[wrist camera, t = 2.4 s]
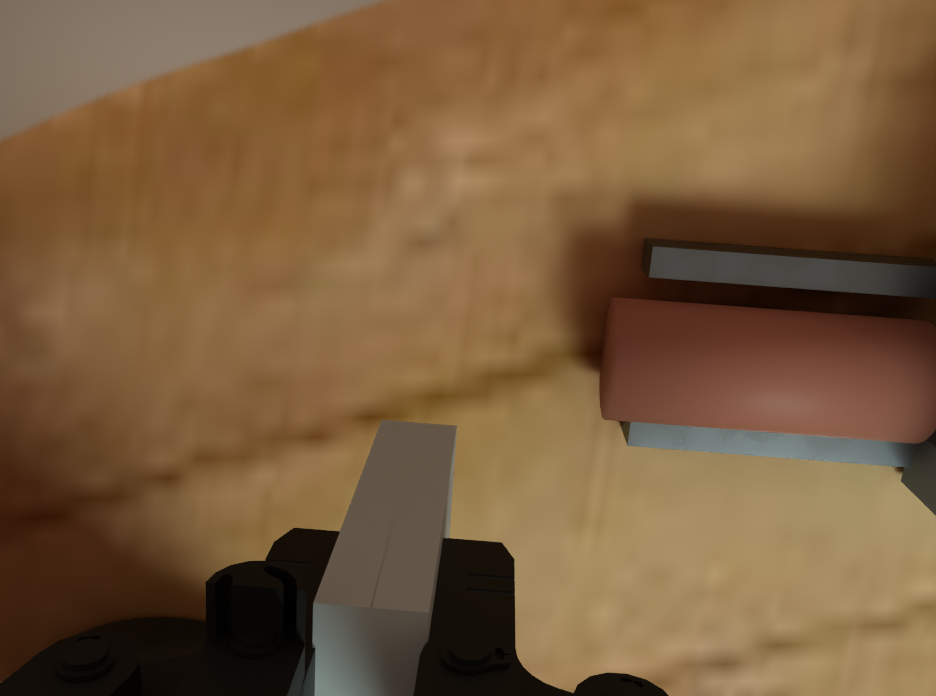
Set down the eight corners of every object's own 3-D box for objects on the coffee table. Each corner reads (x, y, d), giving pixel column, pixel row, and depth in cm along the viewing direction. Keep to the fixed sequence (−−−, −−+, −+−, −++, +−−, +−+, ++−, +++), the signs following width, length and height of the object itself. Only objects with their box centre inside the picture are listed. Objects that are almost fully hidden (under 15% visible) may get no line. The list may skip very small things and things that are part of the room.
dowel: (596, 383, 32) (606, 443, 28) (611, 278, 30) (623, 328, 27) (878, 404, 32) (924, 468, 28) (909, 301, 30) (963, 354, 26)
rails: (621, 428, 32) (627, 445, 30) (645, 238, 30) (652, 246, 28) (890, 449, 32) (910, 467, 30) (931, 259, 30) (954, 268, 28)
